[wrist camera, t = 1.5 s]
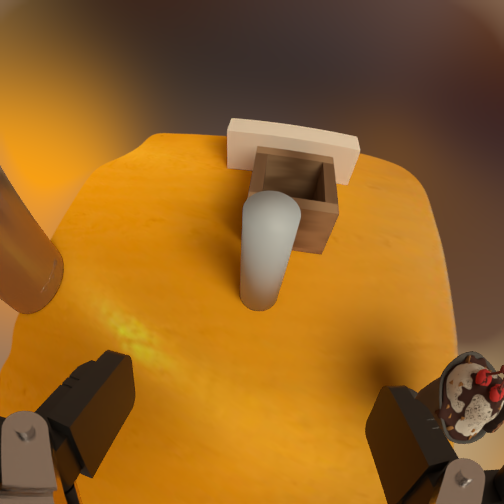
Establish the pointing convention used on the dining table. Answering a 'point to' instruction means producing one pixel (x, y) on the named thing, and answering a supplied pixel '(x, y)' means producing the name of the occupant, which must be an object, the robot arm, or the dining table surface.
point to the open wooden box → (301, 191)
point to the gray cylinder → (266, 246)
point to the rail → (289, 144)
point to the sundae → (466, 398)
